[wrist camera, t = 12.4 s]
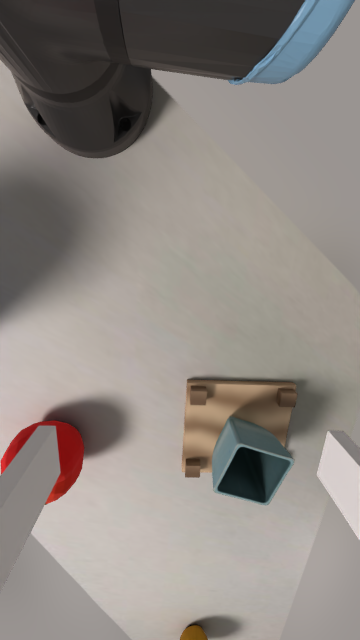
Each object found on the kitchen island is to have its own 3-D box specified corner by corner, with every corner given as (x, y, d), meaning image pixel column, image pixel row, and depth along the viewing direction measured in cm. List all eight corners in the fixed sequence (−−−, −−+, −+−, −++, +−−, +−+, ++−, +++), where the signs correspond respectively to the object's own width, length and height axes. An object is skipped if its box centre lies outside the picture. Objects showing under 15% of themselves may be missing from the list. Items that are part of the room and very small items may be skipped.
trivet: (187, 379, 41) (188, 388, 38) (292, 382, 41) (301, 391, 39) (181, 466, 45) (182, 479, 43) (276, 467, 46) (282, 480, 44)
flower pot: (270, 417, 42) (297, 460, 33) (248, 457, 44) (267, 507, 35) (224, 402, 41) (238, 442, 32) (203, 443, 43) (212, 492, 34)
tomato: (51, 396, 41) (12, 442, 31) (105, 434, 43) (86, 489, 33) (10, 440, 43) (-39, 497, 33) (64, 475, 45) (34, 538, 35)
